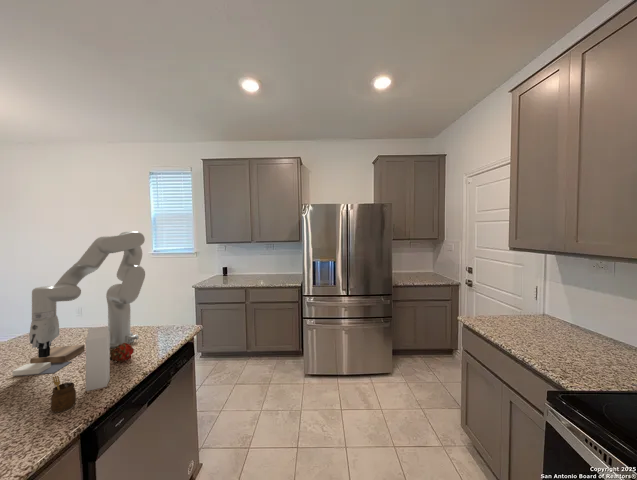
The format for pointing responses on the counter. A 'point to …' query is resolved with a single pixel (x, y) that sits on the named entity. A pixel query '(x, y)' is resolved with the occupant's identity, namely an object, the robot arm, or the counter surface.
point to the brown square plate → (60, 354)
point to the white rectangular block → (31, 368)
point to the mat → (53, 368)
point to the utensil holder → (62, 395)
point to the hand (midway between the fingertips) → (44, 356)
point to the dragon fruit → (121, 353)
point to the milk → (97, 358)
